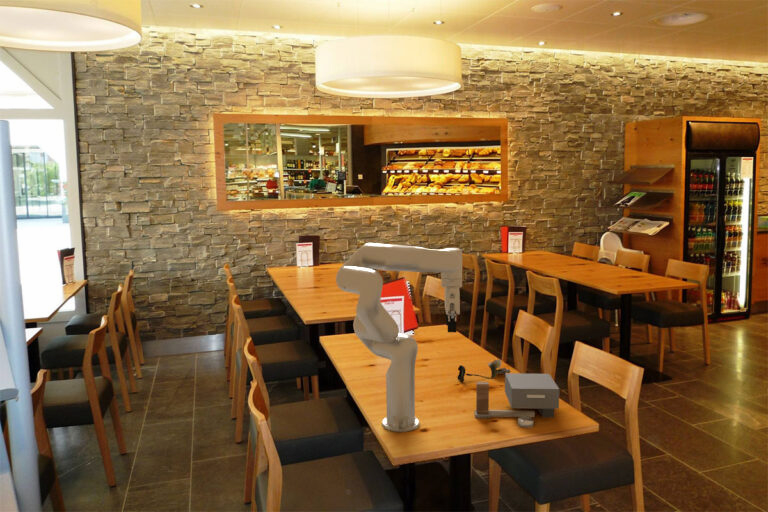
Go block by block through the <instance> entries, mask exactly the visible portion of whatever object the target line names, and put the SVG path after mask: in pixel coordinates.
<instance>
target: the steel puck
mask: <svg viewBox="0 0 768 512" xmlns="http://www.w3.org/2000/svg"><path fill="white" fill-rule="evenodd" d="M517 425H518V426H519V427H521V428H525V429H526V428H527V429H528V428H530V429H531V428H532V427H534V418H533V417H517Z"/></svg>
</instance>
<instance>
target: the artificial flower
mask: <svg viewBox="0 0 768 512" xmlns="http://www.w3.org/2000/svg"><path fill="white" fill-rule="evenodd" d="M502 363H503V362H502V359H500V358H499V359H494V360H493V361H491V362H487V365H488V368H489V369H490V371H491V375H490V376H491V377H488V376H483V375H480V374H476V373H474V374H473V373H466V367H465V366H463V365H459V366H458V368H457V369H458V371H459V372H458V374H457V376H456V378H457V380H458V381H460V382H464V381H465V375H466V376H468V377H471V376H475V377H481V378H485V379H488V380H490V379H491V380H492V379H493V378H495V377H497V374H499V375H501V374H502V375H505V373H511V372H512V371H511V370H510V369H509V368H508V369H507V368H506V367H501V366H502ZM500 367H501V368H500Z"/></svg>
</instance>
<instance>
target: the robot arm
mask: <svg viewBox="0 0 768 512" xmlns="http://www.w3.org/2000/svg"><path fill="white" fill-rule="evenodd" d="M378 270H379V271H387V272H388V271H389V272H411V273H412V272H413V273H437V274H439V273H440V278H441V279H440V287H441V288H444V310H445V315H446V316H445V317H446V318H445V320H446V321H445V322H446V323H445V324H446V326H447V333H457V330H458V329H457V328H458V327H457V326H458V321H457V315H458V316H460V314H461V311H460V308H461V305H460V304H461V303H460V302H461V301H460V300H461V299H460V296H461V294H460V289H461V288H462V287H463V251H462V249H461V248H458V247H446V248H445V247H444V248H443V249H435V248H432V249H430V248H425V247H421V246H413V245H401V244H390V243H389V244H388V243H377V242H367V243H365V244H363V245H362V246H360V247H359V248H358V249H357V250H355V252H354V253H353V254H352V255H351V256H350V257H349V258H348V259H347V260H346V261H345V262H344V263H343V264H342V266H341V267H339V269H338V270H337V272H336V276H335V282H336V285H337V287H338V289H340V290H342V292H346V293H351V294H354V295H355V294H356V295H359V296H358V300H357V303H356V307H355V308H356V309H355V314H356V315H355V317H354V319H353V324H352V327H353V330H354V334H355V335H356V337H357V338H358V339H359V340H360V341H361V342H362V344H363V345H364V346H365V347H366V348H367V349H368V350H369V351H370V352H371V353H372V354H373V355H375V356H377V357H380V358H384V359H387V360H389V361H390V364H389V366H388V368H387V370H386V373H385V375H386V376H385V377H386V379H385V382H386V383H385V384H386V385H385V386H386V387H385V388H386V393H385V394H386V417H384V418H383V419H382V421H381V425H382V427H383V428H384V429H386V430H388V431H390V432H395V433H396V432H398V433H404V432H405V433H406V432H411V431H414V430H416V429H418V427H420V420H419V419H418V418H417V417H416V415H415V414H416V409H415V408H416V406H415V405H416V401H415V400H416V399H415V397H416V396H415V395H416V394H415V392H416V391H415V389H416V387H415V386H416V381H415V380H416V378H415V375H416V373H415V372H416V370H415V368H416V361H417V355H418V350H419V349H418V348H419V347H418V342H417V340H416V339H415V338H414V337H412V336H411V335H409V334H407V333H404V332H400V329H399V325H398V323H397V321H396V320H395V319H394V318H393V317H392V316H391V314H390V313H389V312H388V311H387V309H386V308H385V306H383V304H382V301H381V299H382V292H383V286H384V279H383V277H382V275H381V273H380V272H378Z"/></svg>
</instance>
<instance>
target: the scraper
mask: <svg viewBox="0 0 768 512" xmlns="http://www.w3.org/2000/svg"><path fill="white" fill-rule="evenodd" d="M475 388H476V391H475V392H476V394H475V395H476V397H475V399H476V400H475V402H476V403H475V406H476V407H475V410H474V416H475V419H491V418H492V417H494V418H495V417H496V418H497V417H498V418H499V417H502V418H509V417H510V418H519V417H530V418H535V417H536V416H535V414H536V413H535V410H513V409H511V410H507V409H506V410H503V409H501V410H500V409H489V401H490V398H489V397H490V396H489V395H490V383H489V381H476V387H475Z"/></svg>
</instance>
